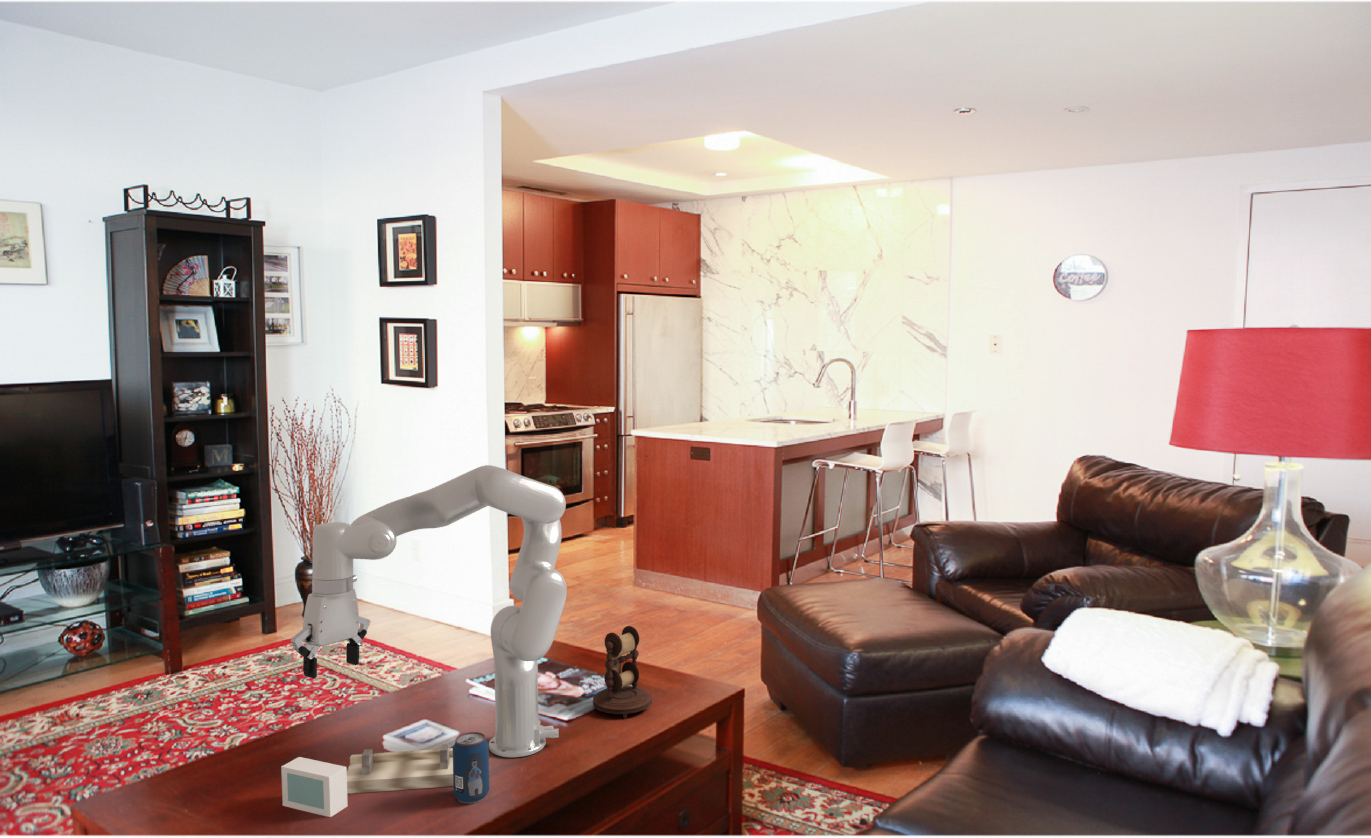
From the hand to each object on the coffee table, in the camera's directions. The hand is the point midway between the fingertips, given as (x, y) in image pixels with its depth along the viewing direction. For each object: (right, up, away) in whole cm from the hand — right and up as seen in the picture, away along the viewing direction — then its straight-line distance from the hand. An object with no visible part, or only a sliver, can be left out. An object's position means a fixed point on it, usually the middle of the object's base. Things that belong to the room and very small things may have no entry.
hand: (331, 670), depth 175 cm
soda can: (+28, -25, 0) cm, 38 cm away
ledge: (+13, -25, +7) cm, 29 cm away
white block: (-2, -26, -4) cm, 26 cm away
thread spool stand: (+55, -22, +44) cm, 74 cm away
